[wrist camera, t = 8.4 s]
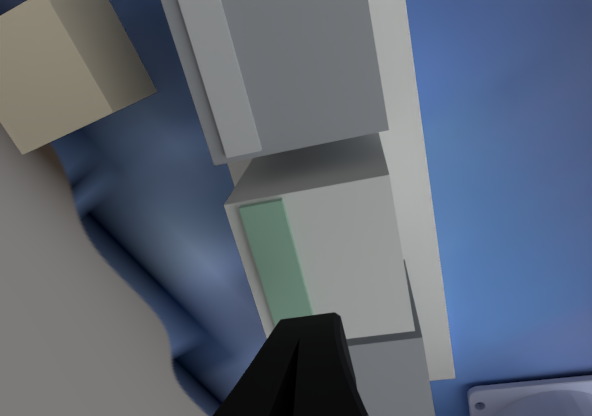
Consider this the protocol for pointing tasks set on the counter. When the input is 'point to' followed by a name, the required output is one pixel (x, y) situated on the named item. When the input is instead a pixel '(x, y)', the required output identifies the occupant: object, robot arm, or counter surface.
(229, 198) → the block
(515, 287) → the counter surface
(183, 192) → the counter surface
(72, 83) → the block
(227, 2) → the din rail
